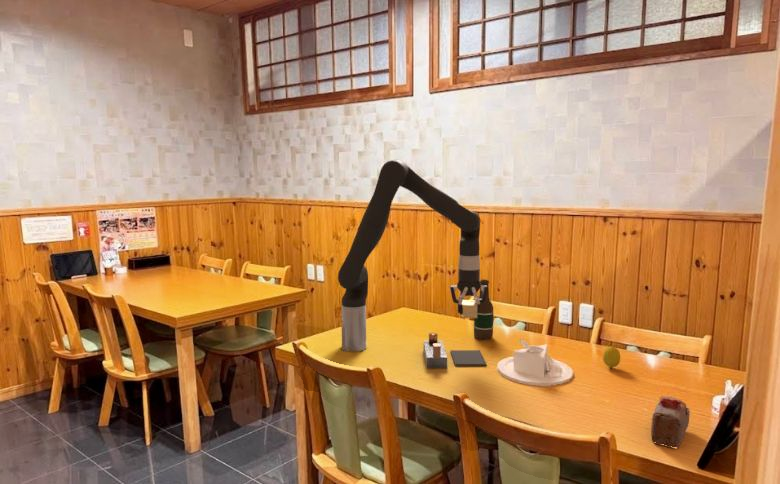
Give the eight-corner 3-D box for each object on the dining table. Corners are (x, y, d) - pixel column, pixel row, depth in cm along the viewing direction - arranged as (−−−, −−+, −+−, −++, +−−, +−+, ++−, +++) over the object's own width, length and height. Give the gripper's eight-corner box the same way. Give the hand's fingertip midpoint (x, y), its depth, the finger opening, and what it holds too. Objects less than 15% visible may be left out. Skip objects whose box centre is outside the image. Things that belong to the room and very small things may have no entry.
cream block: (463, 318, 183) (463, 305, 182) (459, 312, 191) (460, 300, 190) (477, 318, 183) (477, 305, 182) (473, 311, 191) (473, 299, 190)
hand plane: (447, 368, 180) (447, 346, 179) (426, 368, 180) (427, 346, 179) (441, 350, 198) (442, 330, 197) (423, 350, 198) (423, 330, 197)
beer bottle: (494, 340, 210) (495, 282, 206) (475, 340, 210) (476, 282, 206) (491, 334, 217) (492, 278, 214) (472, 334, 217) (473, 278, 214)
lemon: (619, 366, 181) (621, 344, 180) (619, 372, 176) (620, 349, 175) (602, 364, 183) (603, 342, 182) (601, 369, 178) (603, 347, 177)
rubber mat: (455, 366, 182) (455, 364, 182) (450, 352, 196) (450, 350, 196) (486, 366, 182) (486, 363, 182) (479, 352, 196) (479, 350, 196)
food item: (655, 421, 142) (657, 387, 141) (689, 429, 138) (691, 394, 136) (648, 443, 131) (651, 406, 129) (684, 452, 126) (687, 414, 125)
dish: (552, 393, 161) (554, 358, 159) (483, 372, 177) (484, 340, 176) (584, 371, 178) (586, 339, 177) (519, 354, 195) (519, 324, 194)
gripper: (450, 269, 181) (449, 317, 183) (491, 269, 181) (490, 316, 183) (447, 265, 188) (447, 311, 191) (487, 265, 188) (486, 311, 191)
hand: (468, 313), depth 187 cm, fingers closed on cream block, 5 cm apart
